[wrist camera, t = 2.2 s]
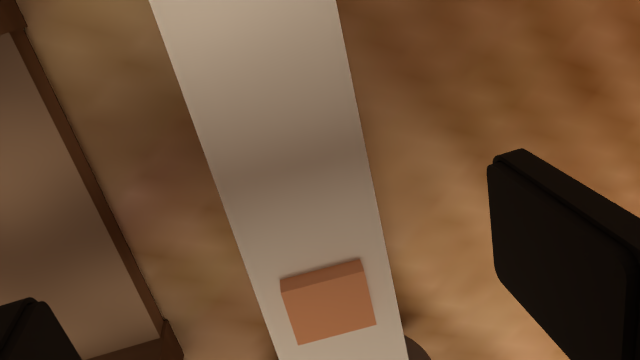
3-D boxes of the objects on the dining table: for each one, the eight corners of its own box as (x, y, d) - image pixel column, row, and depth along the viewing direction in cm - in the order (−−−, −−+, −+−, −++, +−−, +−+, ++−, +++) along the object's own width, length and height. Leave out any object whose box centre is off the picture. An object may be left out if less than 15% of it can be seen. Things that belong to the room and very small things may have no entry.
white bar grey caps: (84, -170, 13) (-47, -266, 8) (309, -226, 13) (349, -365, 8) (279, 367, 22) (288, 510, 17) (414, 331, 22) (470, 461, 17)
